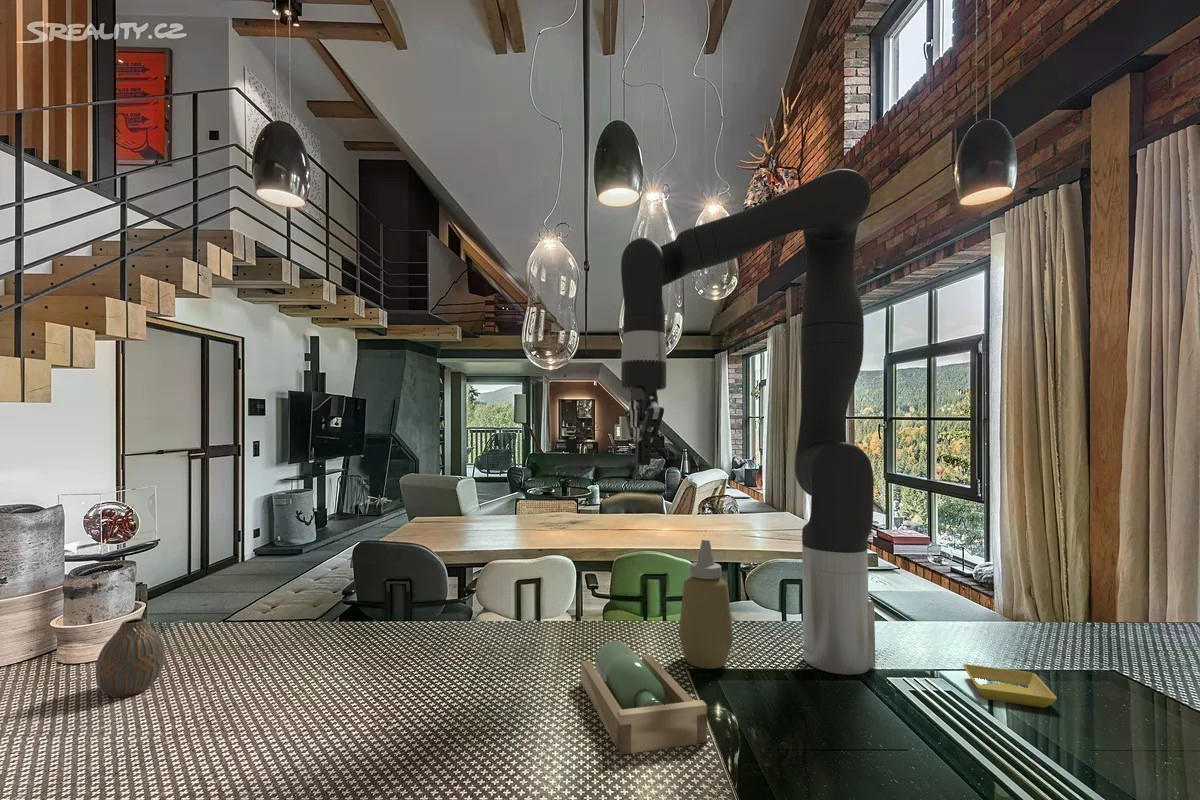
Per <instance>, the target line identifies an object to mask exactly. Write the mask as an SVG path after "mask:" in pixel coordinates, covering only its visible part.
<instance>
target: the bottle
mask: <svg viewBox="0 0 1200 800" xmlns="http://www.w3.org/2000/svg"><path fill="white" fill-rule="evenodd" d="M594 663H595V669H596V671H597V672H598V674H599V675H600V677H601V678H602V680H603V681H604V683H605V684H606V686H607V688H608V689H609V691H610V692H611V694H612V695H613V697H614V698H615V700H616V701H617V703H618V704H619V706H620V707H621V709H622V710H623V709H631V708H640V707H648V706H656V705H664V690H663V687H662V685H661V684H660V682H659V681H658V680H657V679H656V678H655V677H654V675H653V674H652V673H651V672H650V671H649V670H648V668H647V667H646V666H645V665H644V664H643V663H642V660H641V659H640V658H639V657H638V655H636V653H635V652H634V651H633V650H632V648H631V647H629V645H628V644H627V643H625V642H623V641H621V640H611V641H608V642H606V643H605V644H604V645H602V646H601V647H600V648H599V650H598V651H597V653H596V657H595V662H594Z"/></svg>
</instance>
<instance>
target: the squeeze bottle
mask: <svg viewBox="0 0 1200 800" xmlns="http://www.w3.org/2000/svg"><path fill="white" fill-rule="evenodd" d="M689 569H690V570H689V572H690V573H689V574H690V576H688V577H687V578H686V579H685V580H684V581H683V588H682V589H683V590H682V599H681V600H682V601H681V609H680V619H679V626H678V627H679V630H678V637H679V640H680V644H681V648H682V651H683V653H684V657H685V660H686V662H687V663H688V664H689V665H690V666H694V667H696V668H700V669H710V670H711V669H720V668H722V667H724V666H725V665H726V664H727V663H726V662H727V660H728V656H729V654H730V651H731V647H732V645H733V641H734V633H733V624H732V614H731V605H730V603H731V602H730V595H729V584H728V583H727V581H726V580H724V579H723V578H721V577H722V565H720V564H719V563H716V562H715V559H714V555H713V551H712V545H711V541H710V540H709V539H702V540H701V542H700V548H699V552H698V557H697V561H694V562H691V563H690V565H689Z"/></svg>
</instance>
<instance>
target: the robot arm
mask: <svg viewBox="0 0 1200 800" xmlns="http://www.w3.org/2000/svg"><path fill="white" fill-rule="evenodd" d="M871 191H872V190H871V185H870V184H869V181H868V180H867V178H866V177H865V175H862V174H861V173H860V172H858V171H856V170H853V169H849V168H839V169H833V170H831V171H828V172H826V173H823V174H821V175H819V176H817V177H815V178H813V179H811V180H809V181H806V182H805V183H803V184H801V185H799V186H797V187H795V188H793V189H791V190H789V191H787V192H785V193H783V194H780V195H778V196H776V197H774V198H773V197H772V198H771V199H769V200H767V201H764V202H762V203H760V204H757V205H754V206H752V207H750V208H747V209H744V210H741V211H739V212H736V213H733V214H731V215H727V216H724V217H721V218H718V219H715V220H712V221H709V222H705V223H701V224H699V225H696V226H693V227H689V228H688V229H684V230H683V231H681V232H679V233H678V235H677V236H676V238H675V240H673V241H669V242H668V243H666V244H662V245H659V244H658V243H657V242H655V241H654V240H652V239H650V238H647V237H639V238H636V239H633V240H632V241H631V242H630V243H628V245H626V247H625V248H624V250H623V252H622V255H621V262H620V275H621V286H622V287H621V288H622V296H623V305H624V308H623V319H622V320H623V321H622V323H623V330H622V331H623V332H622V333H623V335H622V343H621V361H620V362H621V373H620V375H621V377H620V378H621V379H620V381H621V382H620V386H621V388H622V389H623V390H627V391H630V392H631V394H630V399H629V401H628V409H625V411H624V415H625V416H624V417H625V420H626V424H627V428H628V433H629V436H630V438H631V439H633V442H634V443H635V450H634V452H635V453H634V454H635V456H634V457H635V458H634V459H635V460H634V462H635V464H636V465H637V466H650V465H651V462H652V461H651V460H652V443H653V442H654V439H657V438H658V434H659V430H660V427H661V424H662V420H663V417H664V413H665V408H664V406H659V397H658V391H662V390H665V389H666V388H667V341H666V311H665V304H664V301H663V287H664V286H667V285H669V284H671V283H673V282H675V281H678V280H679V279H682V278H684V277H685V276H688V275H689V274H691V273H693V272H696V271H700V270H702V271H703V270H705V269H707V268H711V267H715V266H717V265H721V264H724V263H728V262H730V261H733V260H735V259H737V258H740V257H742V256H745V255H746V254H748V253H750V252H752V251H754V250H756V249H758V248H759V247H761V246H763V245H766V244H768V243H769V242H772V241H773V240H776V239H778V238H781V237H783V236H786V235H789V234H792V233H795V232H799V231H803V239H804V249H805V253H804V254H805V264H806V275H805V283H804V290H803V300H802V311H801V323H800V324H801V326H800V327H801V328H800V406H801V407H800V420H799V421H800V422H799V428H798V436H797V444H796V445H797V446H796V450H795V451H796V452H795V458H794V472H795V473H794V474H795V478H796V481H797V483H798V485H799V486H800V488H801V489H802V490H803V492H804V493H806V494H807V495H809V496H811V498H810V499H811V500H810V501H811V502H810V517H809V519H808V522H807V523H806V524H805V525H804V526H803V527H802V530H801V543H802V544H801V547H802V548H801V549H802V554H801V555H802V556H801V557H802V562H801V563H802V650H803V653H802V654H803V657H802V659H803V660H804V662H805V663H806V664H808V665H809V666H811V667H813V668H815V669H818V670H820V671H823V672H826V673H831V674H838V675H849V676H851V675H861V674H864V673H868V672H869V670H870V669H871V668H876V630H875V629H876V628H875V627H876V626H875V625H876V624H875V615H876V614H875V602H874V601H873V600H871V599H869V569H868V568H869V567H868V566H869V565H868V564H869V562H868V561H869V560H868V559H869V558H868V556H869V555H868V540H869V537H870V535H871V532H872V528H873V525H874V524H873V523H874V497H875V496H874V495H875V493H874V491H875V489H874V488H875V485H874V484H875V482H874V481H875V480H874V471H873V466H872V463H871V460H870V458H869V456H868V455H867V454H866V452H865V451H864V450H863V449H862V448H861V447H859V446H857V445H855V444H853V443H851V442H848V441H847V413H848V406H849V403H850V400H851V397H852V394H853V391H854V388H855V385H856V383H857V379H858V376H859V374H860V371H861V366H862V364H863V358H864V347H865V346H864V342H865V341H864V338H865V337H864V333H865V332H864V330H865V329H864V326H865V325H864V321H865V320H864V319H865V318H864V311H863V305H862V304H863V303H862V300H861V297H860V292H859V288H858V286H857V281H856V277H855V268H854V267H855V265H854V264H855V261H854V260H855V250H856V248H855V247H856V238H857V234H858V233H857V232H858V227H859V225H860V222H861V221H862V219H863V218H864V215H865V214H866V211H867V210H868V209H869V205H870V202H871V195H872V192H871Z"/></svg>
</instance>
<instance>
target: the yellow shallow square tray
mask: <svg viewBox="0 0 1200 800" xmlns="http://www.w3.org/2000/svg"><path fill="white" fill-rule="evenodd" d="M962 666H963V668H964V669H965V671H966V673H967V675H968V676H969V677H970V678H969V679H971V681H972V683H973V684H974V687H976V689H977V690H978V692H979V693H980V695H981V697H983V698H984V699H986V700H989V701H997V702H1002V703H1003V702H1004V703H1011V704H1017V705H1024V706H1030V707H1036V708H1043V709H1044V708H1047V707H1050V706H1051V705H1052V704H1054V702H1056V701H1057V699H1058V697H1057V696H1056V695H1055V694H1054V693H1053V691H1052V690H1051V689H1050V688H1049V687H1048V686H1047V685H1046V684H1045V683H1044V681H1043V680H1042V679H1041V678H1040V677H1039V676H1038V675H1037V674H1036V673H1034V672H1030V671H1024V670H1015V669H1008V668H1000V667H999V668H998V667H990V666H982V665H975V664H968V663H967V664H963V665H962ZM974 678H978V679H979V678H980V679H984V680H985V679H986V680H991V681H997V682H998V681H999V682H1001V683H1000V684H998V683H996V684H989V683H988V684H982V685H980V684H978V683H977V682H976V681H975V679H974ZM1002 683H1004V684H1002ZM1006 683H1007V684H1006ZM1008 683H1010V684H1008ZM1011 683H1013V684H1016V685H1017V684H1018V686H1016V685H1012V684H1011ZM1019 684H1020V685H1021V684H1022V685H1026V686H1028V688H1026V687H1025V688H1024V687H1022V686H1020V685H1019Z"/></svg>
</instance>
